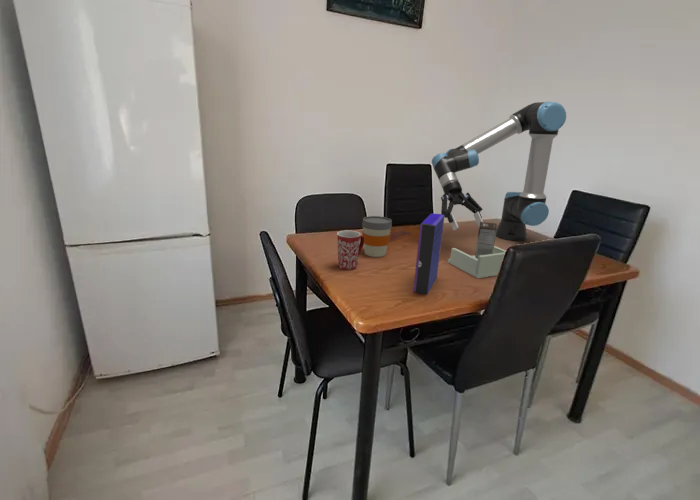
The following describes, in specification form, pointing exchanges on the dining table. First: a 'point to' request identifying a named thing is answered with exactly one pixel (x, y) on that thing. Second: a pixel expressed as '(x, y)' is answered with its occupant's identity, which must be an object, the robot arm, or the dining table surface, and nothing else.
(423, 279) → the cereal box
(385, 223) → the reusable coffee cup
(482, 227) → the coffee box
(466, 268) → the tray
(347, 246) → the mug
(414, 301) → the dining table surface
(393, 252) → the dining table surface
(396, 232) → the wooden tablet
